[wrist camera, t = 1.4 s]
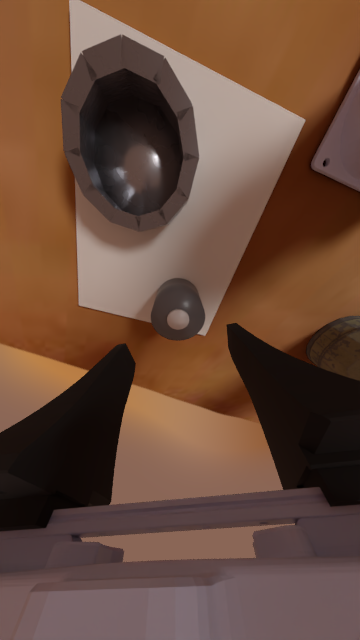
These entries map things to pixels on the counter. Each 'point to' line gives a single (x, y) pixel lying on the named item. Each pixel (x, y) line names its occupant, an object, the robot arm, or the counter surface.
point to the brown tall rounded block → (337, 347)
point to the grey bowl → (129, 134)
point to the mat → (205, 197)
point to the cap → (177, 310)
